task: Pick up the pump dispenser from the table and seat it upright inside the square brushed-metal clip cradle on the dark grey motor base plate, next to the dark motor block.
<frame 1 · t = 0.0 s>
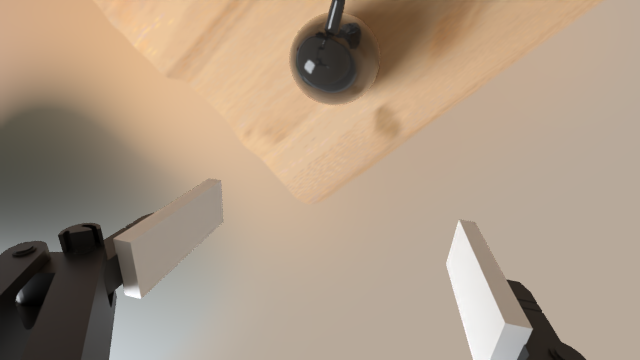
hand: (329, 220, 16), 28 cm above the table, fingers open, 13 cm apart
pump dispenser: (342, 60, 40), on the table
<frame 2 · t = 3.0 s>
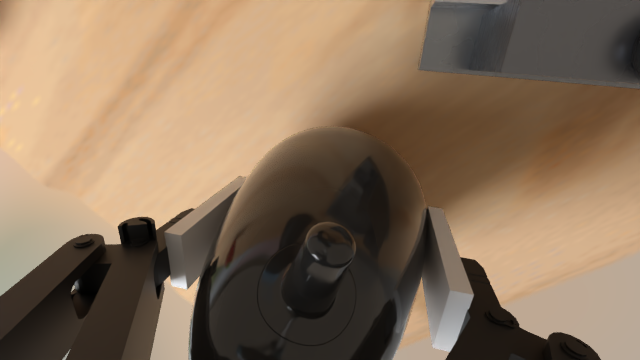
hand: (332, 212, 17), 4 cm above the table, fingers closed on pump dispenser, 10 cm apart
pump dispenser: (343, 186, 21), on the table, touching gripper
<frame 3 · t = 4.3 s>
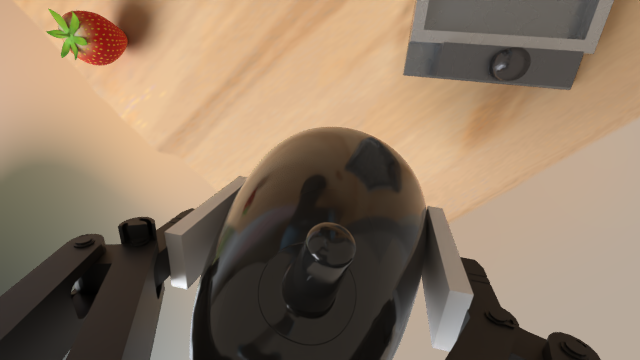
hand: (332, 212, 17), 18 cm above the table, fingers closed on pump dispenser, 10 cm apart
fruit: (124, 41, 36), on the table
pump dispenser: (343, 186, 21), point 14 cm above the table, touching gripper
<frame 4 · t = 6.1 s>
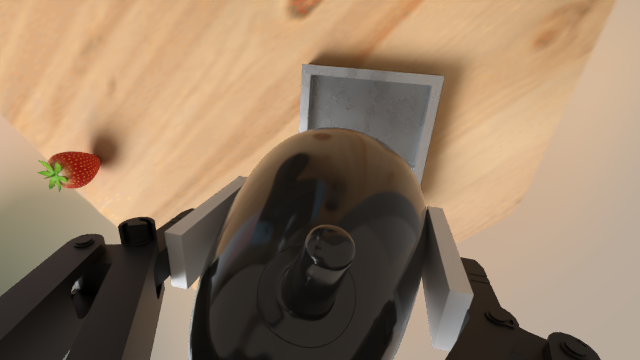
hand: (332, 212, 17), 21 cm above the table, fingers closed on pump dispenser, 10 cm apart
fruit: (98, 160, 47), on the table
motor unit: (361, 146, 37), on the table
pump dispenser: (343, 187, 21), point 17 cm above the table, touching gripper
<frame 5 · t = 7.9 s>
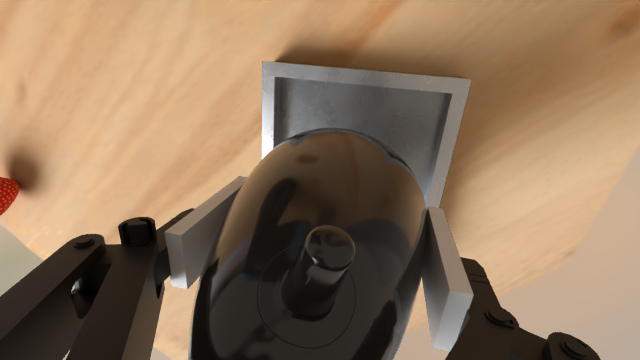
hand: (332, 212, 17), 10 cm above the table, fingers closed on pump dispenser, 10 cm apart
fruit: (17, 185, 37), on the table
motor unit: (350, 174, 27), on the table
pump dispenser: (343, 187, 21), point 6 cm above the table, touching gripper
when the fingers open (6 cm above the table, at t = 9.3 s): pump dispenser drops 1 cm, resting on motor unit.
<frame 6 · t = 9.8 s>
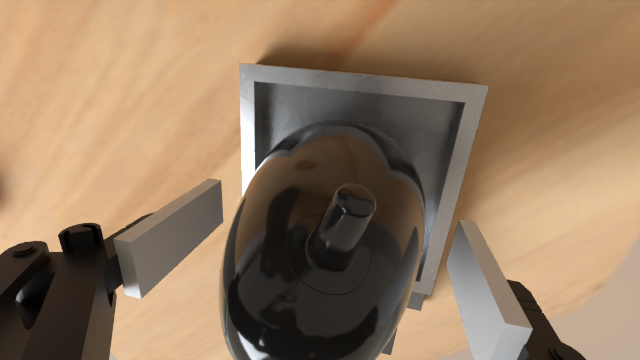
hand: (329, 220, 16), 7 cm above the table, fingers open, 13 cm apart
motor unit: (344, 193, 24), on the table
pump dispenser: (344, 179, 22), point 1 cm above the table, touching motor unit
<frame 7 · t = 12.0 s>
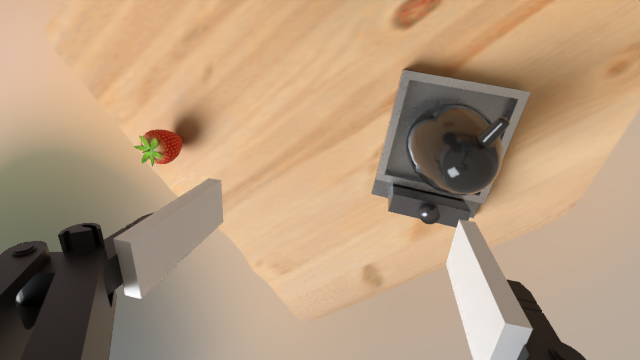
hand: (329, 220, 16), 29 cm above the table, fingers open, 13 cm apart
fruit: (178, 140, 51), on the table
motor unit: (439, 146, 42), on the table
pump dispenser: (443, 137, 41), point 1 cm above the table, touching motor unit
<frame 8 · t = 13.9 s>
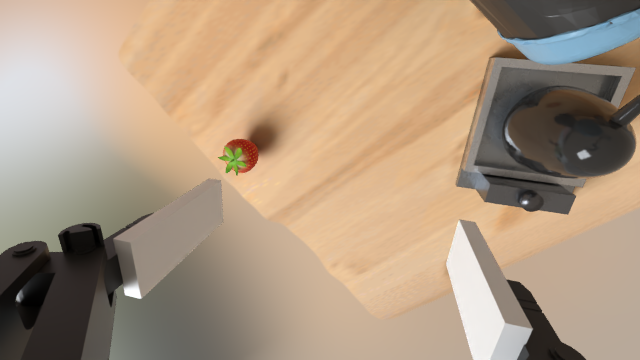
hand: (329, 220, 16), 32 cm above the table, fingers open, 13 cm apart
fruit: (252, 148, 51), on the table
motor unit: (528, 132, 41), on the table
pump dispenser: (534, 122, 40), point 1 cm above the table, touching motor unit
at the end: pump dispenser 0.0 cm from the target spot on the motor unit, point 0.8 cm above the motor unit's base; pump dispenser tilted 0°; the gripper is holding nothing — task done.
